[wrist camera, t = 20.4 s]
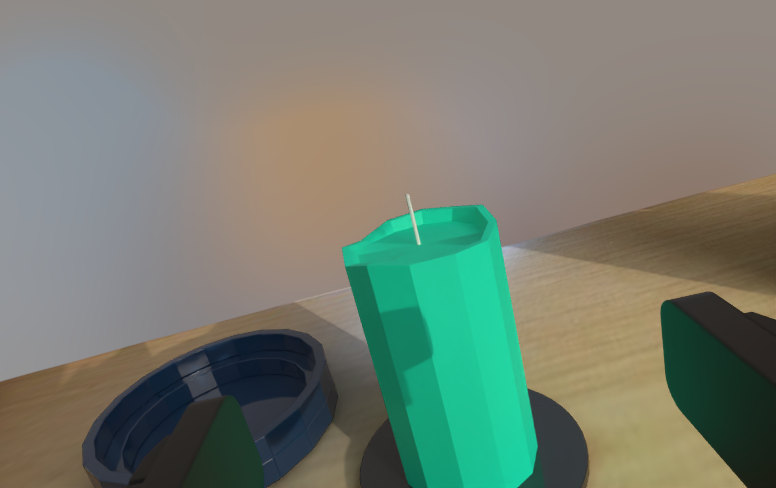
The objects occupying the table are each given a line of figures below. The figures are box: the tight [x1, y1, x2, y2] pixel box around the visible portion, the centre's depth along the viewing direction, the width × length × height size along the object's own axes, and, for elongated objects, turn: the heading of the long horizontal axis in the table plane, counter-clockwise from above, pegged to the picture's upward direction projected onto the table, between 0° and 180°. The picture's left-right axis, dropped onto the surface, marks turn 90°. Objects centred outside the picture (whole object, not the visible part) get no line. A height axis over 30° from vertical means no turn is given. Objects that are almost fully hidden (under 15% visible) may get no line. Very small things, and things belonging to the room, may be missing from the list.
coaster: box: [360, 389, 589, 488], centre depth 23 cm, size 10×10×1 cm
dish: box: [82, 329, 338, 488], centre depth 29 cm, size 13×13×3 cm
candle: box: [342, 194, 538, 488], centre depth 21 cm, size 6×6×12 cm
